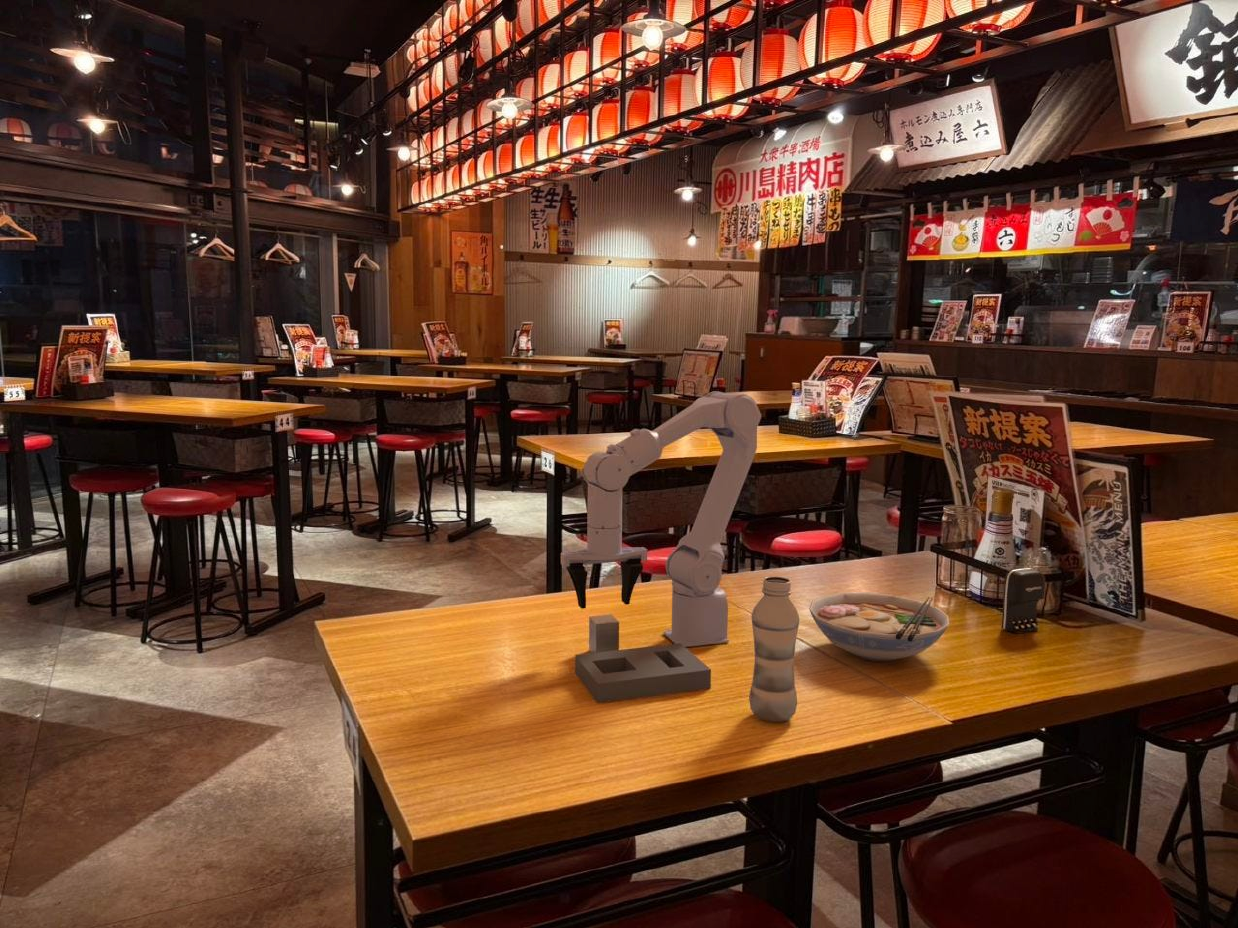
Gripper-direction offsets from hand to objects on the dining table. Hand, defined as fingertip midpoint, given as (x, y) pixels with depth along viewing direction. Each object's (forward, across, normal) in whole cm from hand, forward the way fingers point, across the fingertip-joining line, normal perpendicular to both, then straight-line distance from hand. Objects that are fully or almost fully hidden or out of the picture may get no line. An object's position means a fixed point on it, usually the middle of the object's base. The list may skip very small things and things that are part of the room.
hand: (603, 604), depth 145 cm
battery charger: (+8, -77, +12) cm, 78 cm away
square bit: (+8, 0, 0) cm, 9 cm away
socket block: (+8, -2, +13) cm, 16 cm away
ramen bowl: (+9, -44, +14) cm, 47 cm away
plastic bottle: (+9, -15, +31) cm, 36 cm away
